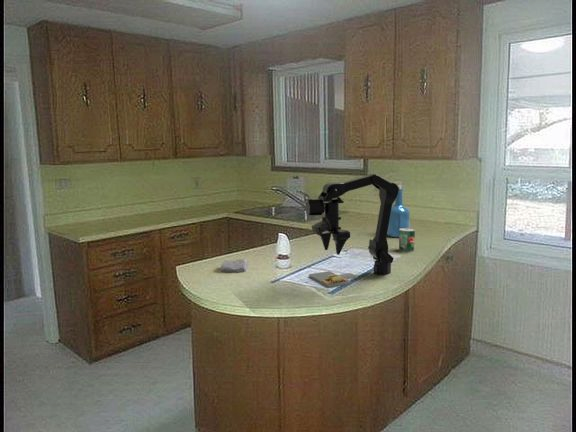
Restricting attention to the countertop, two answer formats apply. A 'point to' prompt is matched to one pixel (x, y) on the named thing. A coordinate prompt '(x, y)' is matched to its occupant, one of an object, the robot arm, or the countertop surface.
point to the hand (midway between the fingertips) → (332, 252)
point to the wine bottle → (398, 216)
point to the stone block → (234, 266)
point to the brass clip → (334, 279)
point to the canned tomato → (406, 239)
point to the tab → (348, 276)
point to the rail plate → (323, 279)
